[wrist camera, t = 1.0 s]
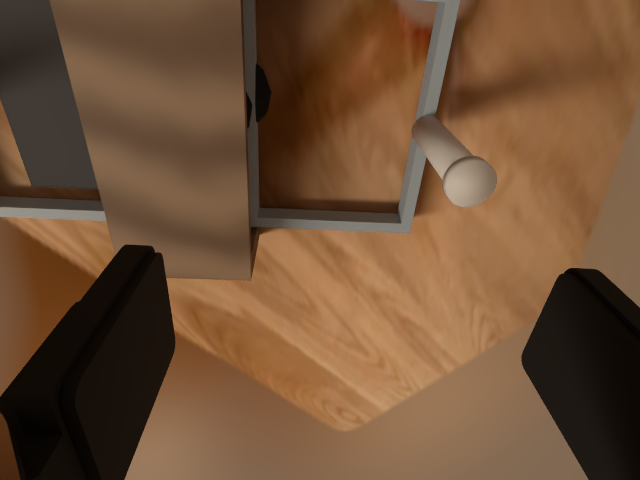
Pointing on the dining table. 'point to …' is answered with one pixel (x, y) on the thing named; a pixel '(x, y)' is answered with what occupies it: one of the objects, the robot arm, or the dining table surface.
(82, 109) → the tunnel
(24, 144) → the dark grey flat slab
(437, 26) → the gray frame
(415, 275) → the dining table surface
